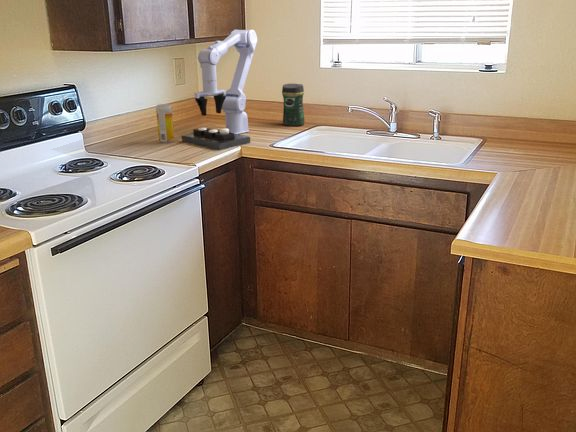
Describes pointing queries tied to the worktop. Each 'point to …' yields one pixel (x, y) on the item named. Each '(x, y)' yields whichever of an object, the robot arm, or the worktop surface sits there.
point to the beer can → (165, 123)
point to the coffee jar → (293, 104)
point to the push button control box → (215, 139)
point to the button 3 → (224, 131)
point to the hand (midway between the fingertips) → (211, 114)
